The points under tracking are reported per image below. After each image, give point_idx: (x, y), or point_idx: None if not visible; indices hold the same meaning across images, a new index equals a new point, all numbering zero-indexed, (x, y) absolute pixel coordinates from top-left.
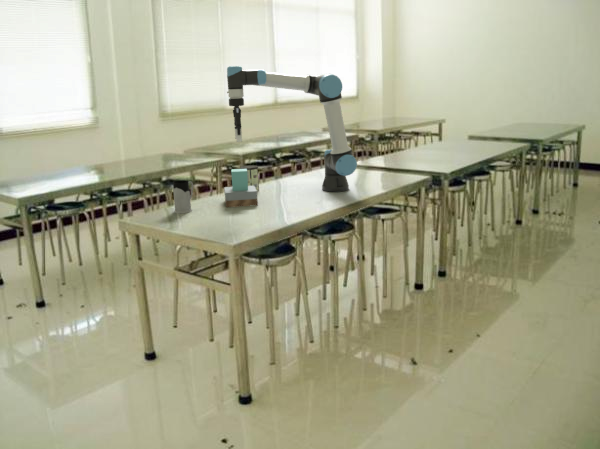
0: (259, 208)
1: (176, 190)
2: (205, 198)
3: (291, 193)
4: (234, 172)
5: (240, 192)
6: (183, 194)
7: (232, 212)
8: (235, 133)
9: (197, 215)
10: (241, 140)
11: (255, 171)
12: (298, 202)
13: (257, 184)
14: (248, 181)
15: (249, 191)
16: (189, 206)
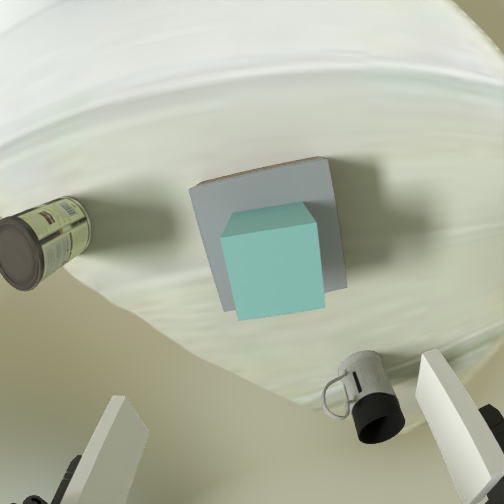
0: (368, 146)
1: (394, 416)
2: (189, 349)
3: (113, 66)
4: (323, 291)
5: (339, 229)
6: (395, 394)
7: (410, 233)
8: (133, 474)
9: (418, 323)
10: (441, 361)
11: (32, 220)
12: (277, 17)
13: (59, 203)
14: (69, 237)
15: (330, 192)
16: (375, 362)
